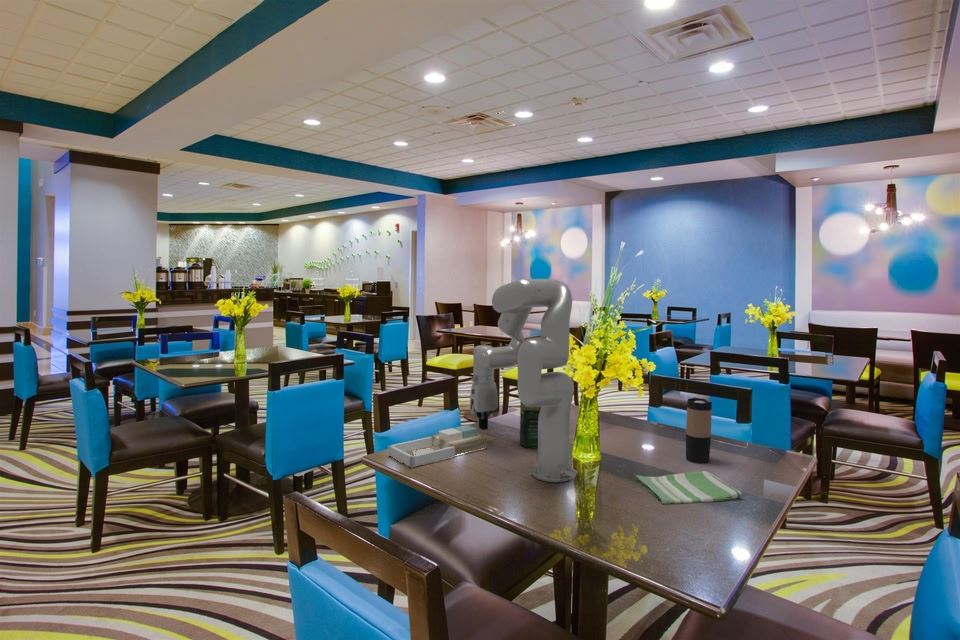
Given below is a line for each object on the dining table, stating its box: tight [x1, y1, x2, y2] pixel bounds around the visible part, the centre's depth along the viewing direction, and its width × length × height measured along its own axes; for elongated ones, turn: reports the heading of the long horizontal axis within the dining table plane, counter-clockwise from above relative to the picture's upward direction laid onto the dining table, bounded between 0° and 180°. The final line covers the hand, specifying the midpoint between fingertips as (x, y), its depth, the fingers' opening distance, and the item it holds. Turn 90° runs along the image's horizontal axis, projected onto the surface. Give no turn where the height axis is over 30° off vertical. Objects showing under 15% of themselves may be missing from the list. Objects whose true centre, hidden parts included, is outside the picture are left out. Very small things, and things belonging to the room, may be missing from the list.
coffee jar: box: [519, 400, 542, 449], centre depth 189 cm, size 10×8×19 cm
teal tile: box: [453, 424, 478, 438], centre depth 186 cm, size 6×6×2 cm
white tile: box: [438, 427, 463, 442], centre depth 182 cm, size 6×6×2 cm
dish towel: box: [635, 470, 742, 505], centre depth 148 cm, size 18×23×3 cm
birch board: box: [430, 433, 488, 455], centre depth 185 cm, size 14×14×4 cm
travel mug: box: [685, 397, 713, 465], centre depth 173 cm, size 8×8×20 cm
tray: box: [387, 436, 455, 467], centre depth 175 cm, size 15×17×4 cm
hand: (483, 428), depth 192 cm, fingers closed
